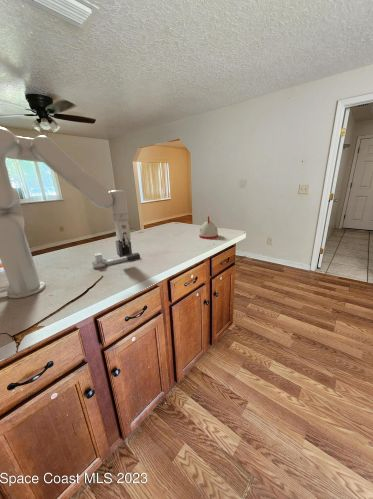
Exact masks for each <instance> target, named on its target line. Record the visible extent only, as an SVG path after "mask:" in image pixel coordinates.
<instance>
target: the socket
mask: <svg viewBox="0 0 373 499" xmlns="http://www.w3.org/2000/svg"><path fill="white" fill-rule="evenodd" d="M123 241H125V240H123ZM123 243H125V242H123ZM128 245H129V253H130V254H128V255H123V252H122V247H123V246H122V242H121V241H120V240H118V239H117V240H115V247H116V254H117V255H118V258H119V257H125V256H130V255H132V254H133V250H132V248H133V247H132V242H131V240H130V241H129V240H128Z"/></svg>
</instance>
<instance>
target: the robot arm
mask: <svg viewBox="0 0 373 499" xmlns="http://www.w3.org/2000/svg"><path fill="white" fill-rule="evenodd" d="M6 159H12V160H19V161H26V162H27V161H28V162H34V163H35V162H37V163H38V162H39V163H43V164H44V165H46V166H47V167H48V168H49V169H51V170H52V171H53V172H54V173H55V174H57V175H58V176H59V177H60V178H61V179H62V180H63V181H65V183H67V184H69V185H70V186H71V187H74V188H76V189H77V190H78V191H80V192H81V193H82V194H83V195H85V196H86V197H87V198H88V199H89V200H90V202H91V203H92V205H93V206H95V207H97V208H100V209H104V210H106V209H109V208H110V213H111V219H112V220H111V221H113V222H114V229H115V236H116V239H117V240H120V241H121V242H122V246H123V247H122V252H123V255H128V254H130V253H129V245H128V240H129V241H131V239H132V238H131V230H130V225H129V209H128V201H127V200H128V199H127V198H128V197H127V192H126V191H125V190H122V189H114V190H107V189H106V187H104V186H103V184H101V183H100V182H99V181H98V180H97V179H96V178H94V176H92V175H91V174H90V173H89V172H87V171H86V170H85V169H84V168H83V167H82V166H80V165H79V164H78V162H76V161H75V160H74V159H73V158H72V157H71V156H70V155H69V154H68V153H66V151H65V150H63V149H62V148H61V147H60V146H59V145H58V144H57V143H56V142H55V141H54V140H53V139H51V138H50V137H49V136H46V135H37V136H35V137H34V138H32V137H31V138H30V137H23V136H20V135H19V136H18V135H15V134H14V133H13V132H11V131H10V130H9V129H7V128H5V127H2V126H0V262H1V265H2V268H3V271H4V273H5V276H6V279H7V284H5V285H0V294H1V293H5V292H7V293H6V294H7V297H8V298H10V299H21V298H22V299H23V298H26V297H30V296H32V295H35V294H38V293H39V292H41V291H42V290H44V288H46V282H44V281H42V280H40V278H39V274H38V270H37V268H36V264H35V261H34V258H33V255H32V252H31V249H30V246H29V242H28V239H27V236H26V233H25V229H24V228H25V224H26V223H25V222H26V221H25V217H24V214H23V209H22V204H21V202H20V197H19V194H18V192H17V191H16V189H15V188H14V187H13V186H12V183H11V179H10V177H9V176H10V175H9V170H8V168H7V164H6ZM123 240H125V241H123ZM123 242H125V243H123Z"/></svg>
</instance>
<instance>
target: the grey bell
mask: <svg viewBox="0 0 373 499" xmlns="http://www.w3.org/2000/svg"><path fill="white" fill-rule="evenodd" d="M199 238H200V239H203V240H204V239H205V240H213V239H216V238H219V232H218V226H216V224H214V222H212V221H211V220H210V216H209V215H208V216H207V221H204V223H203V224H202V225H201V226H200V227H199Z"/></svg>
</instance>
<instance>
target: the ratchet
mask: <svg viewBox="0 0 373 499" xmlns="http://www.w3.org/2000/svg"><path fill="white" fill-rule="evenodd" d="M94 258H95V260H93V261H92V263H91V264H92V268H93V269H95V270H96V269H97V270H98V269H99V270H100V269H104V268H106V267H107V266H110V265H116V264H119V263H124V262H129V261H134V260H139V259H141V255H140V252H134V253H133V252H132V255H130V256H125V257H119V256H118V257H115V258H110V259H105V258H103V254H102V252H98V253H94Z"/></svg>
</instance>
